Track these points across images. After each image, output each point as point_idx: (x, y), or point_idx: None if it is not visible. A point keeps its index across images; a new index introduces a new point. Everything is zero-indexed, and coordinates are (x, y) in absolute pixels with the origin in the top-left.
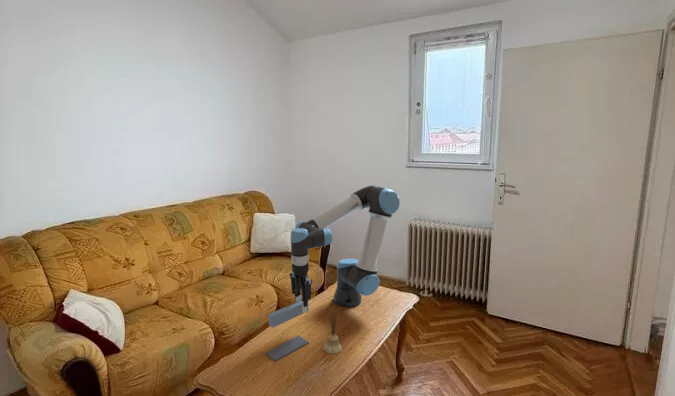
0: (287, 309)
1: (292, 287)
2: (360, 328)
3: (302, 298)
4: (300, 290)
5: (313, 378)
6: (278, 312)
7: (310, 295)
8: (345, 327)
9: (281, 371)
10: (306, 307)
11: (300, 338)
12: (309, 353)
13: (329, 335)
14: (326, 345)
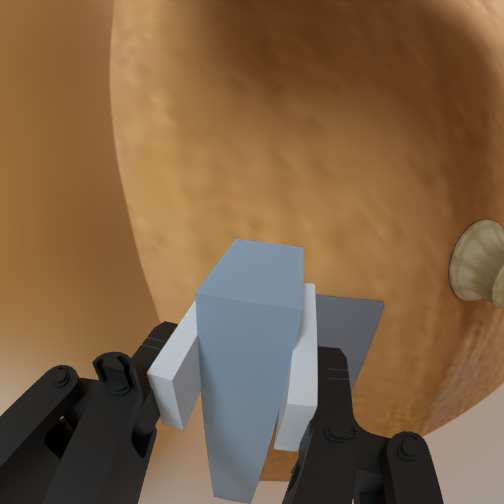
0: (250, 471)
1: (50, 476)
2: (484, 55)
3: (295, 473)
4: (114, 454)
5: (462, 394)
6: (236, 488)
7: (434, 492)
8: (441, 74)
9: (375, 427)
10: (313, 317)
11: (332, 308)
12: (417, 343)
13: (498, 291)
14: (473, 295)
